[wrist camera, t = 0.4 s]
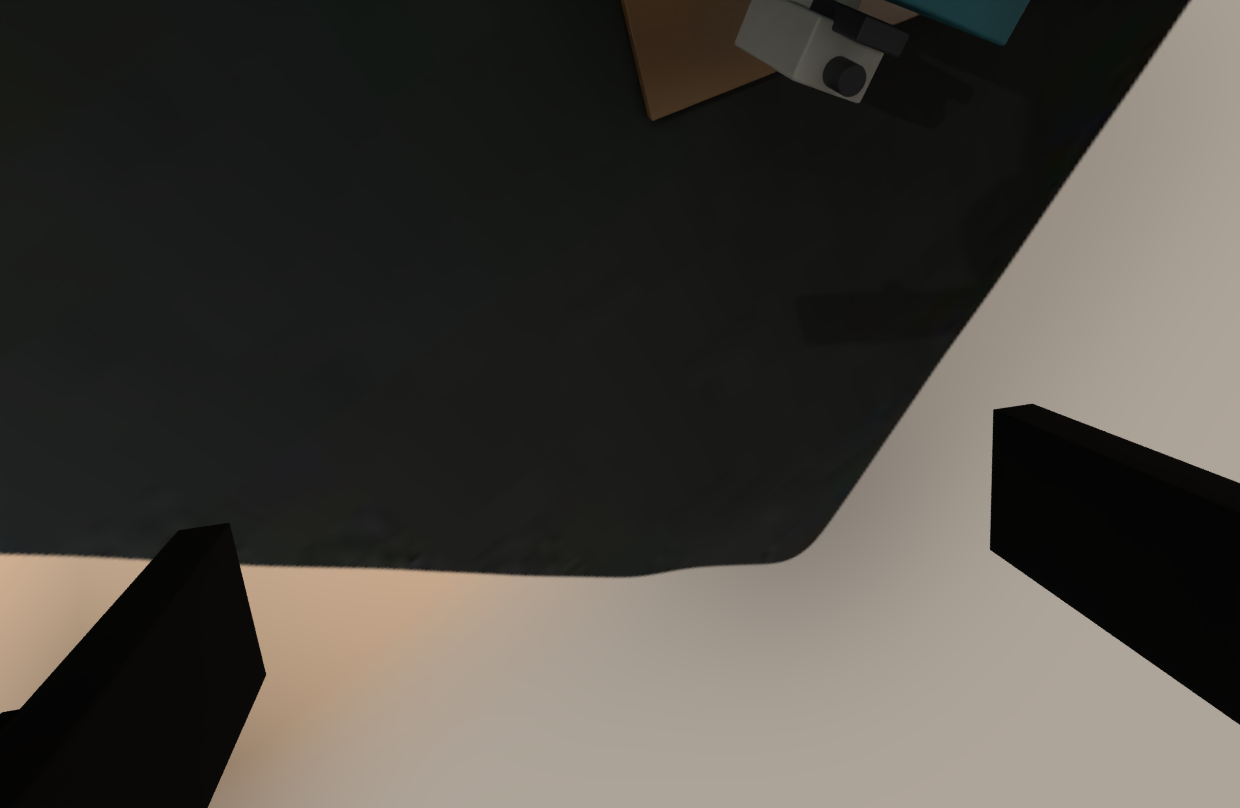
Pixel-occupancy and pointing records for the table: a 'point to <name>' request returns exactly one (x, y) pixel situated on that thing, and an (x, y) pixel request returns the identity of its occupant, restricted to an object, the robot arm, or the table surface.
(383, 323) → the table surface
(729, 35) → the cork mat
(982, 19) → the teal box
